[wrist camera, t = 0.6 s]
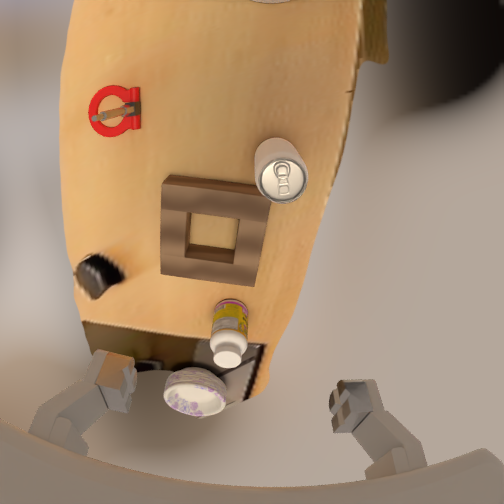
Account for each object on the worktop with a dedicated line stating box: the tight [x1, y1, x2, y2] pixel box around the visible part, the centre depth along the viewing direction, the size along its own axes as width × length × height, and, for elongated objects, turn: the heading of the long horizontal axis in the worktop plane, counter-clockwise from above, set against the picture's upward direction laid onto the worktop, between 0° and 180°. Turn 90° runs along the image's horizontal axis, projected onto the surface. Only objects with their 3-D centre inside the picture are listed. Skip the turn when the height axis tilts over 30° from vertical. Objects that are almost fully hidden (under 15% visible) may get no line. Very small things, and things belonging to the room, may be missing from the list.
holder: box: [160, 175, 271, 287], centre depth 49 cm, size 16×16×4 cm
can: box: [255, 137, 308, 204], centre depth 39 cm, size 6×6×12 cm
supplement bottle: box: [210, 300, 248, 368], centre depth 55 cm, size 7×7×13 cm
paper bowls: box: [164, 367, 226, 416], centre depth 69 cm, size 15×15×8 cm
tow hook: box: [88, 85, 140, 137], centre depth 35 cm, size 8×13×9 cm
